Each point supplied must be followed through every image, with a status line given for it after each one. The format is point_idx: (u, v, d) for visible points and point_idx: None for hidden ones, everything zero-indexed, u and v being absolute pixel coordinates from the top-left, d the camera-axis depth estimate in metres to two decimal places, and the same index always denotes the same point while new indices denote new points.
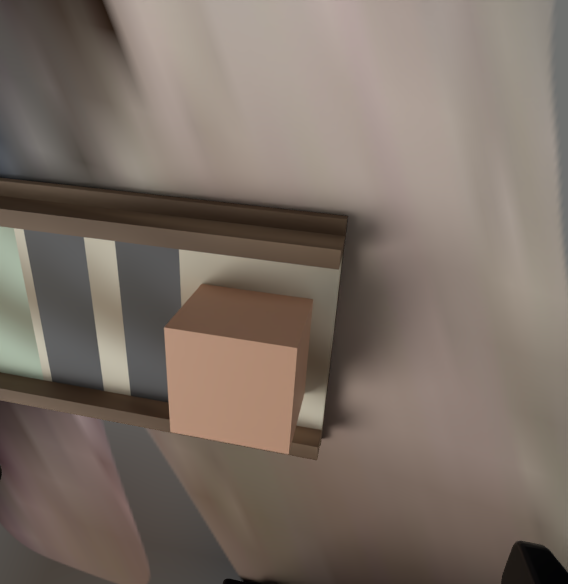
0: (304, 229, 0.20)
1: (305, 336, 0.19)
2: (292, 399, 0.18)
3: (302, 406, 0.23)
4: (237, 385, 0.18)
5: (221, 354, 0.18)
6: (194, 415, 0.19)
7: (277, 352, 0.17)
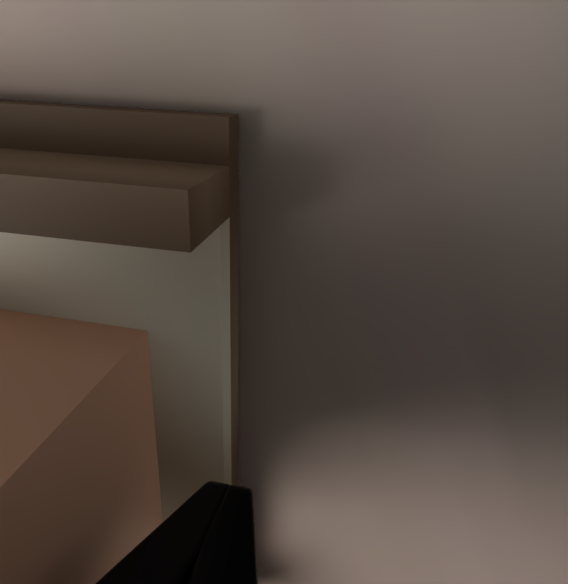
0: (125, 154, 0.08)
1: (98, 437, 0.07)
2: None
3: None
4: None
5: None
6: None
7: None
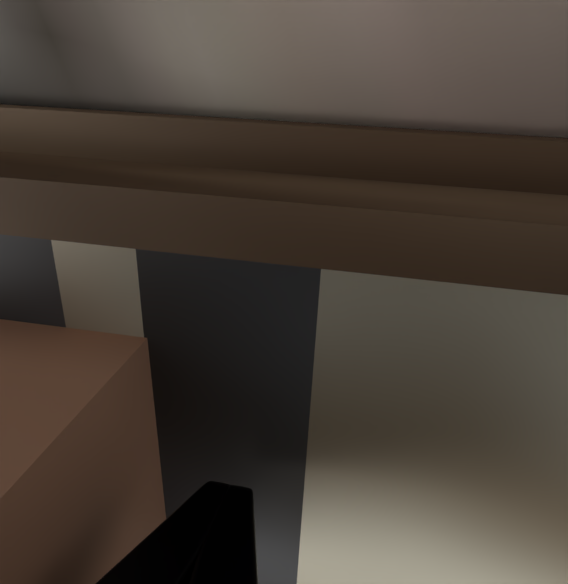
0: None
1: (101, 443, 0.07)
2: None
3: None
4: None
5: None
6: None
7: None
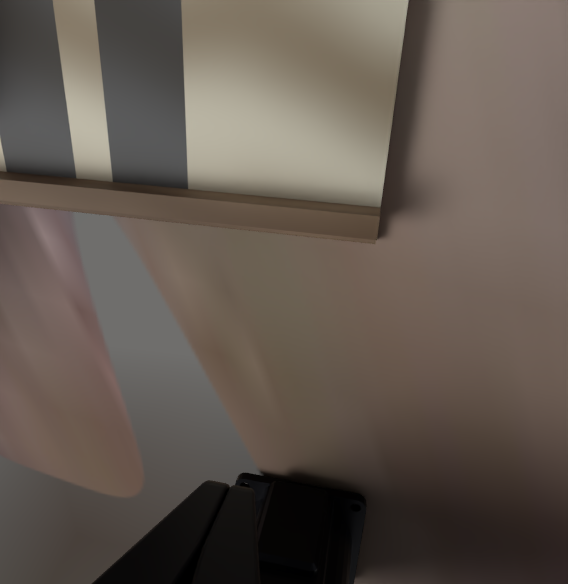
0: None
1: None
2: None
3: (354, 169, 0.16)
4: None
5: None
6: None
7: None
